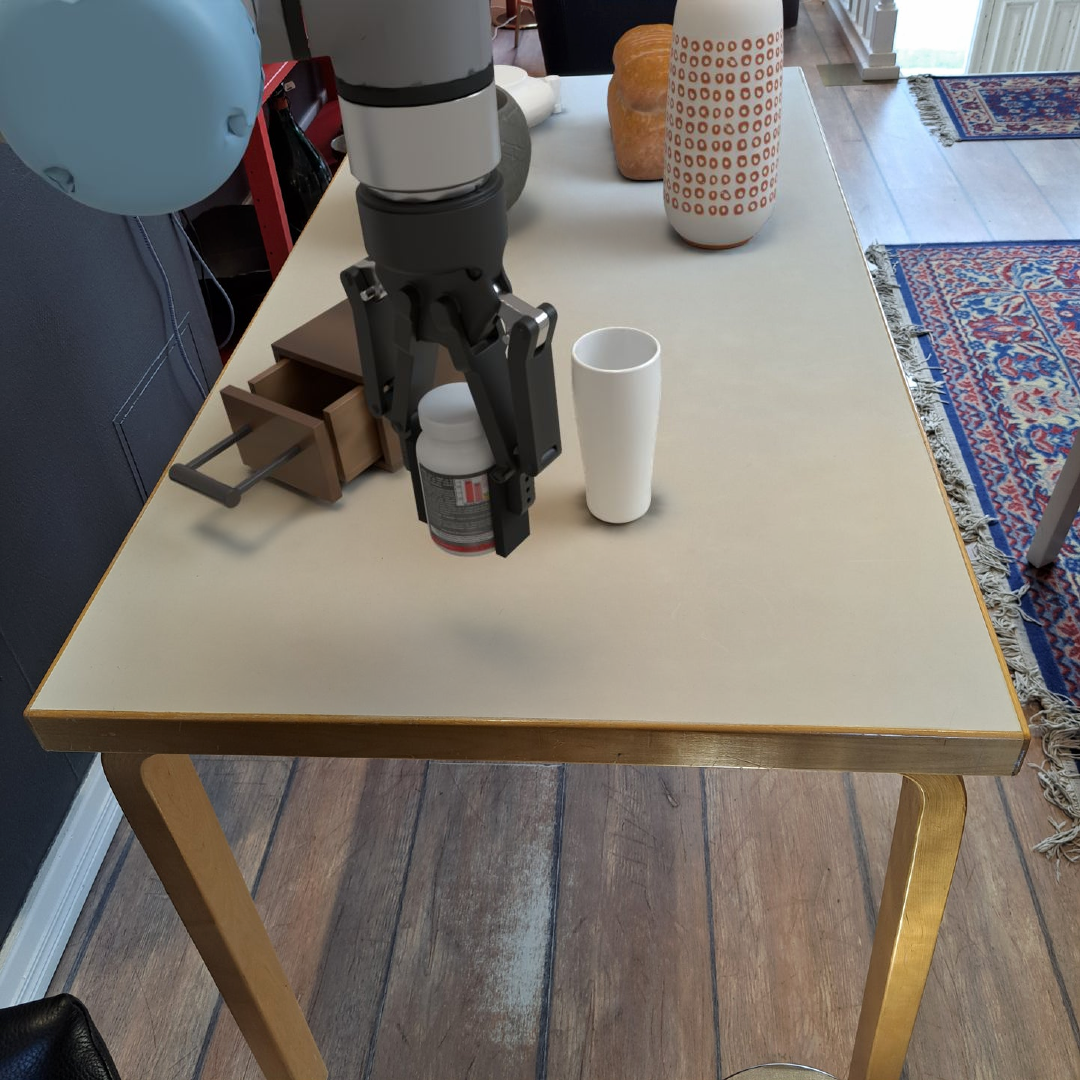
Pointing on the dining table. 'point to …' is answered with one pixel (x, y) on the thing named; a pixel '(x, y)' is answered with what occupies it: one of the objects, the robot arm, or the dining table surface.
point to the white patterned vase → (723, 119)
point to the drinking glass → (617, 418)
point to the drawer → (292, 433)
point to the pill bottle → (455, 471)
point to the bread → (640, 100)
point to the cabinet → (351, 364)
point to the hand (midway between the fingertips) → (473, 526)
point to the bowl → (512, 146)
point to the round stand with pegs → (530, 92)
